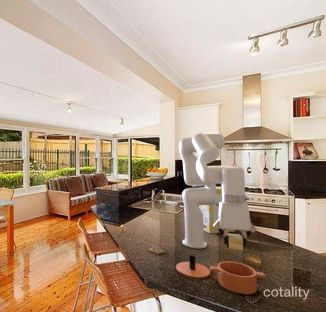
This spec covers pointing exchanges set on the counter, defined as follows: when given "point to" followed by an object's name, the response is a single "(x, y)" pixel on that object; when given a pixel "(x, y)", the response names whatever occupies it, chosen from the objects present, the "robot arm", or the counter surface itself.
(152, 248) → the shard
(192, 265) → the lid
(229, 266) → the pan
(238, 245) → the block
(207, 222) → the pasta box
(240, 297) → the counter surface
